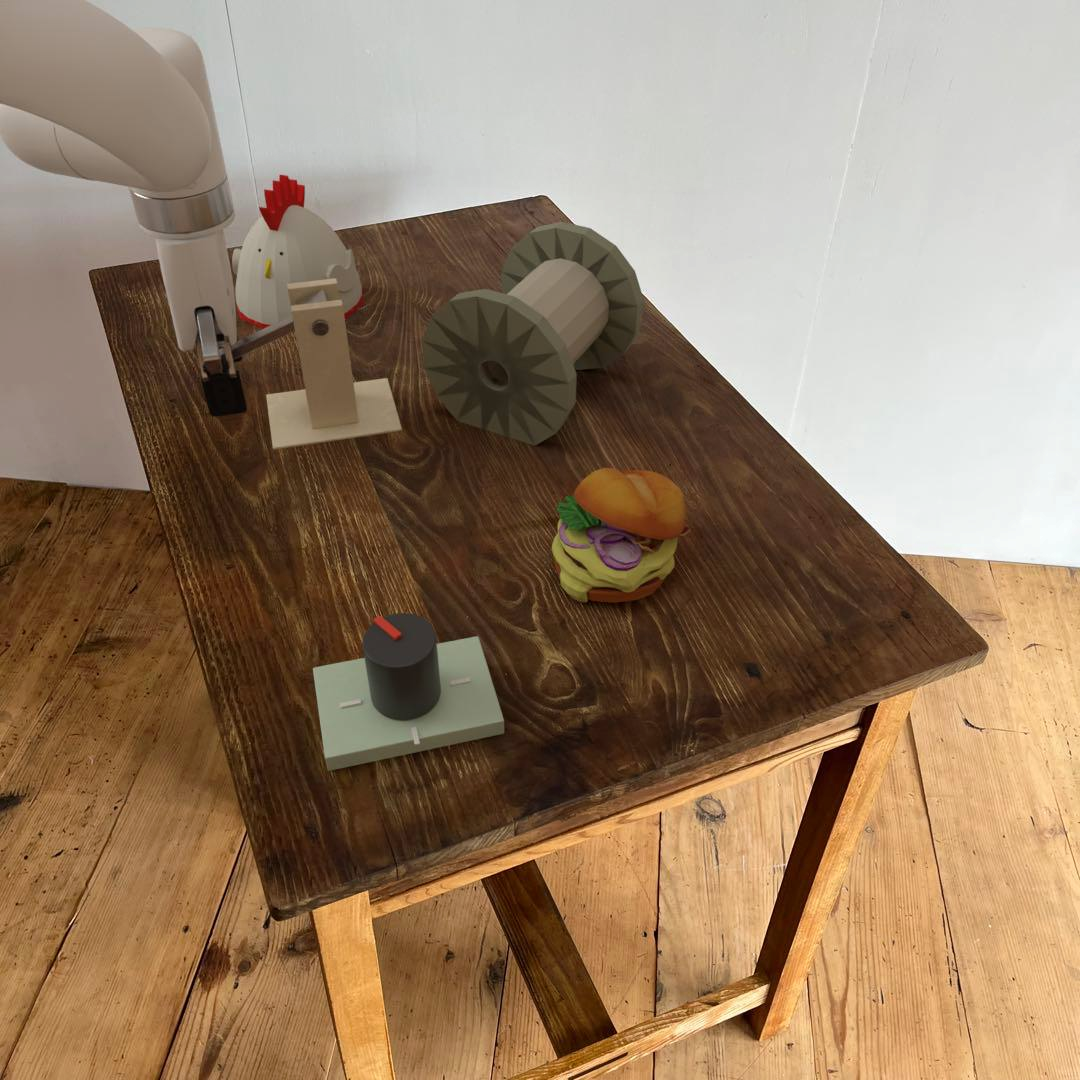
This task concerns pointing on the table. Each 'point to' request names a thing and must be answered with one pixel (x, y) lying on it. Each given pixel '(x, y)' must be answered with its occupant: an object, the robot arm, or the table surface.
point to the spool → (534, 333)
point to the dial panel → (372, 736)
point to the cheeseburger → (618, 535)
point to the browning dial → (402, 665)
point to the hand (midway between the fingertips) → (227, 385)
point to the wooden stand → (327, 380)
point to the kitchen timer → (289, 257)
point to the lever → (270, 331)
